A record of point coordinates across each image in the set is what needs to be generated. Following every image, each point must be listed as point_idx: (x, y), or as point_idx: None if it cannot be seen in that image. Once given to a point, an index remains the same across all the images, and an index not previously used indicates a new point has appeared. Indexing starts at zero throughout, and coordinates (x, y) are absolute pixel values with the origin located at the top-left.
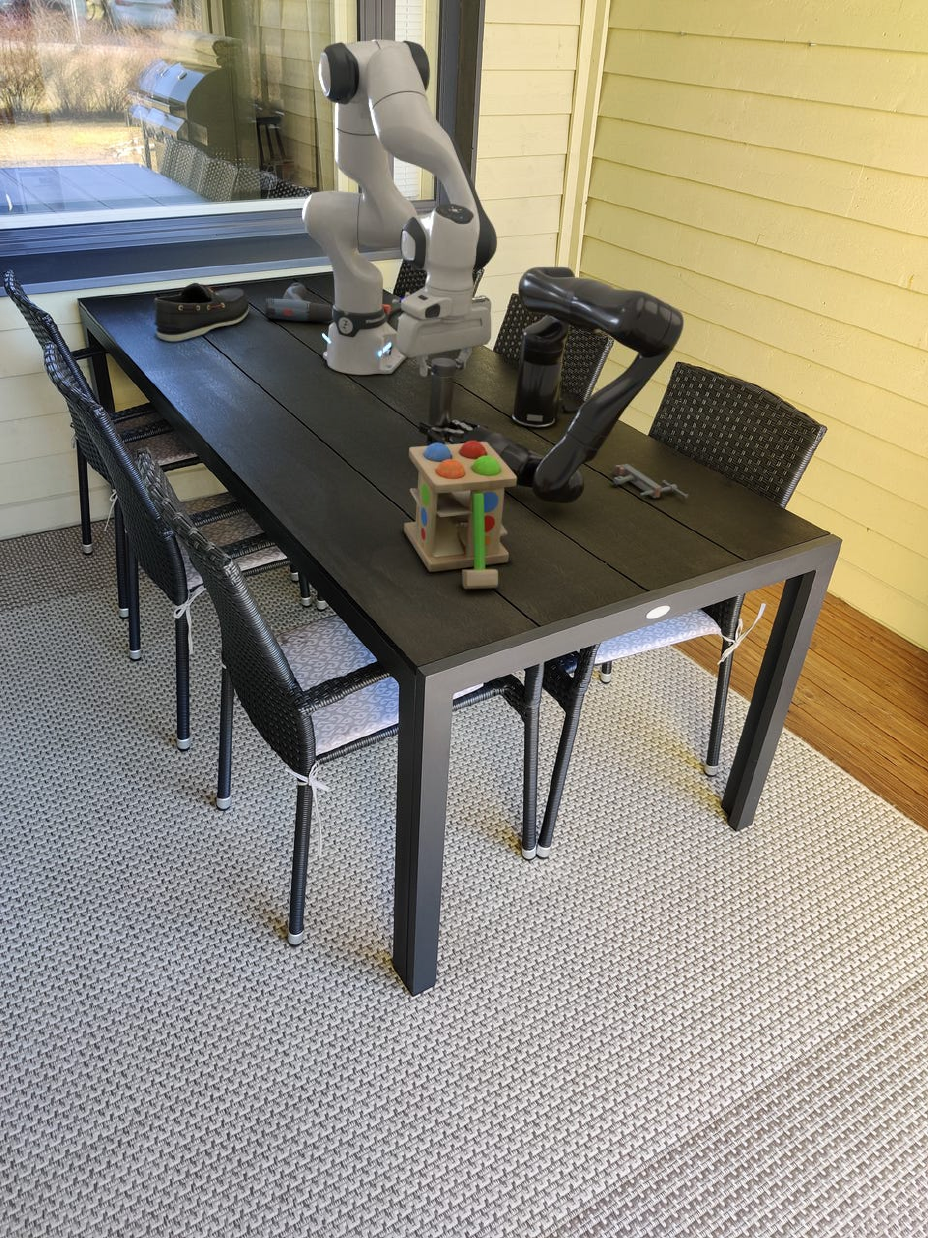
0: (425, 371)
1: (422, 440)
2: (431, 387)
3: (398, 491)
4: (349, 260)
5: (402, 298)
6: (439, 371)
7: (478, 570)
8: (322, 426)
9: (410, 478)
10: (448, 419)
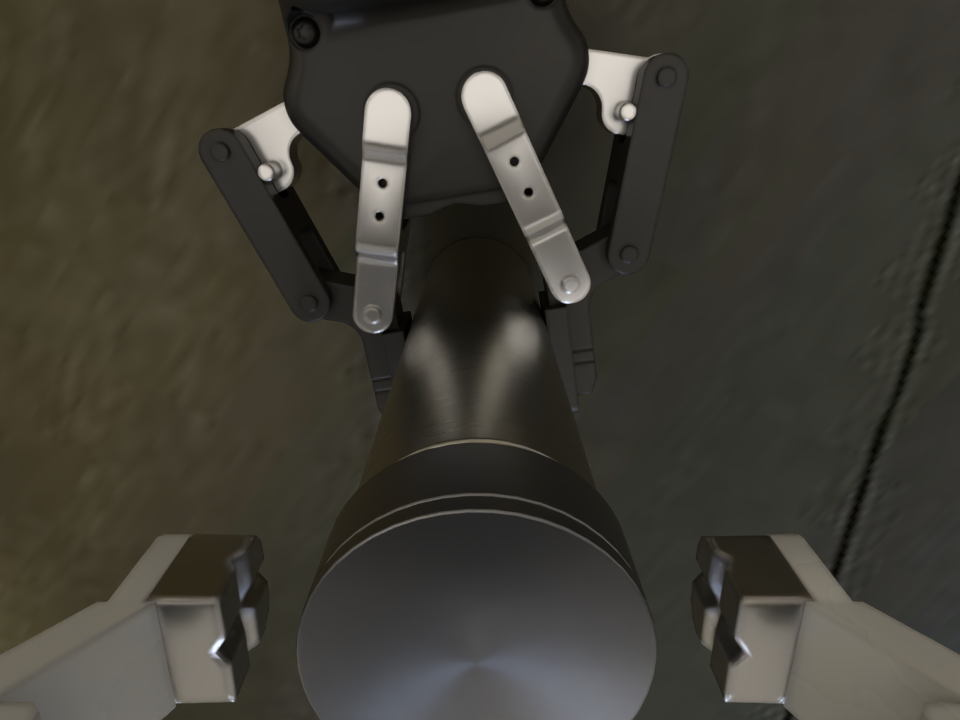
0: (827, 571)
1: None
2: None
3: (925, 31)
4: None
5: None
6: (616, 527)
7: None
8: (731, 708)
9: (766, 132)
10: (457, 294)
